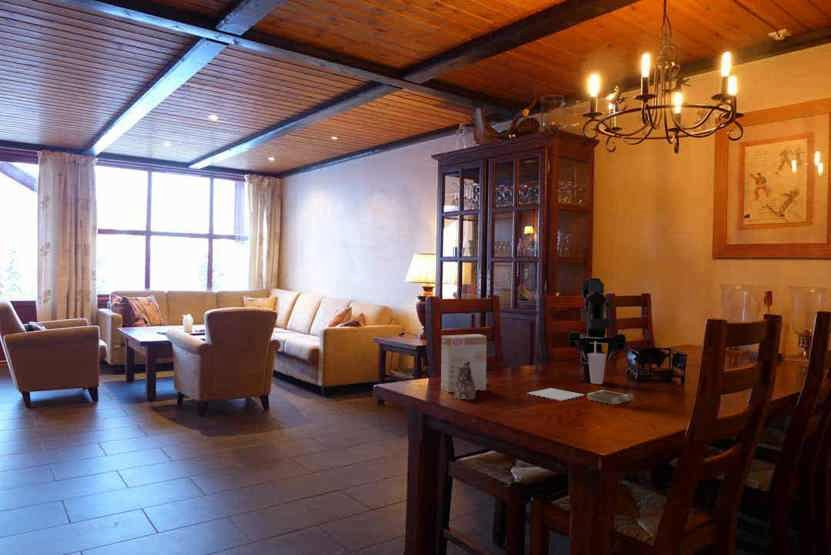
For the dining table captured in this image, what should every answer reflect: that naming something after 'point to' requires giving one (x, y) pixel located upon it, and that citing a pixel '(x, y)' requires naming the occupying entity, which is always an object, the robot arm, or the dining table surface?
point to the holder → (608, 397)
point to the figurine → (464, 382)
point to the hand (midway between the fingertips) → (596, 360)
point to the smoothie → (596, 366)
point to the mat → (556, 394)
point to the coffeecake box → (463, 359)
